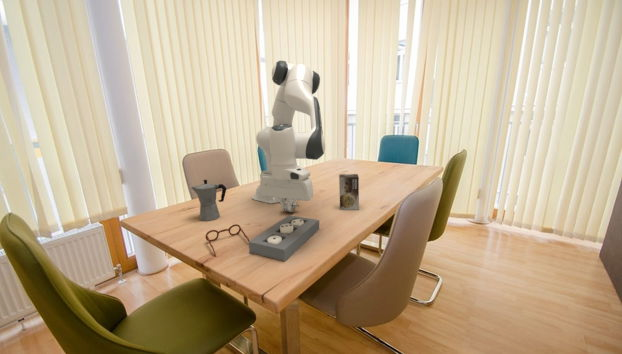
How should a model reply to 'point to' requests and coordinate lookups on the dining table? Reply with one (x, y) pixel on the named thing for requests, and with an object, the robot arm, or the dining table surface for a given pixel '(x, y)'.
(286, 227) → the button three
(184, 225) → the dining table surface
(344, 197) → the coffee box
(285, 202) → the game die
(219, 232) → the glasses
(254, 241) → the button panel
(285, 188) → the robot arm
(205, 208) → the coffeepot
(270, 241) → the button one
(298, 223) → the button two
